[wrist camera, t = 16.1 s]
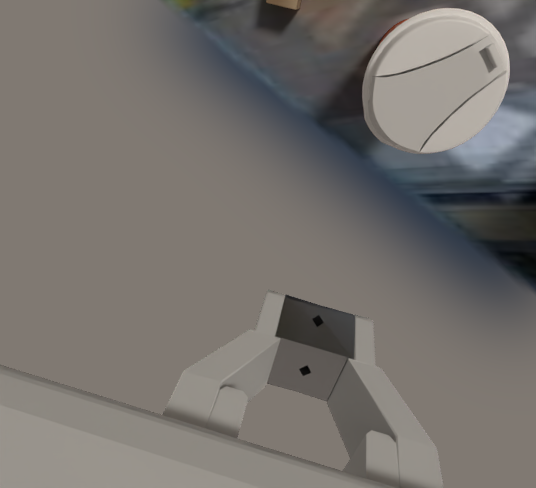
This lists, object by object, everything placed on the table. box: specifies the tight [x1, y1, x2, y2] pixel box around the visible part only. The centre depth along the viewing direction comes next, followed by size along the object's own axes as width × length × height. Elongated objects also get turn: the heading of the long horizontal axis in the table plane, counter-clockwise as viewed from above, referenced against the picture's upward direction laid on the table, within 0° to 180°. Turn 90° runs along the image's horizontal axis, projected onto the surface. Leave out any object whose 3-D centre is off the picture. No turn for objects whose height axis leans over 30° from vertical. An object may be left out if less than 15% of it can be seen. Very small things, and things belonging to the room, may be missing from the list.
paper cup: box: [362, 8, 510, 154], centre depth 27 cm, size 8×8×14 cm
